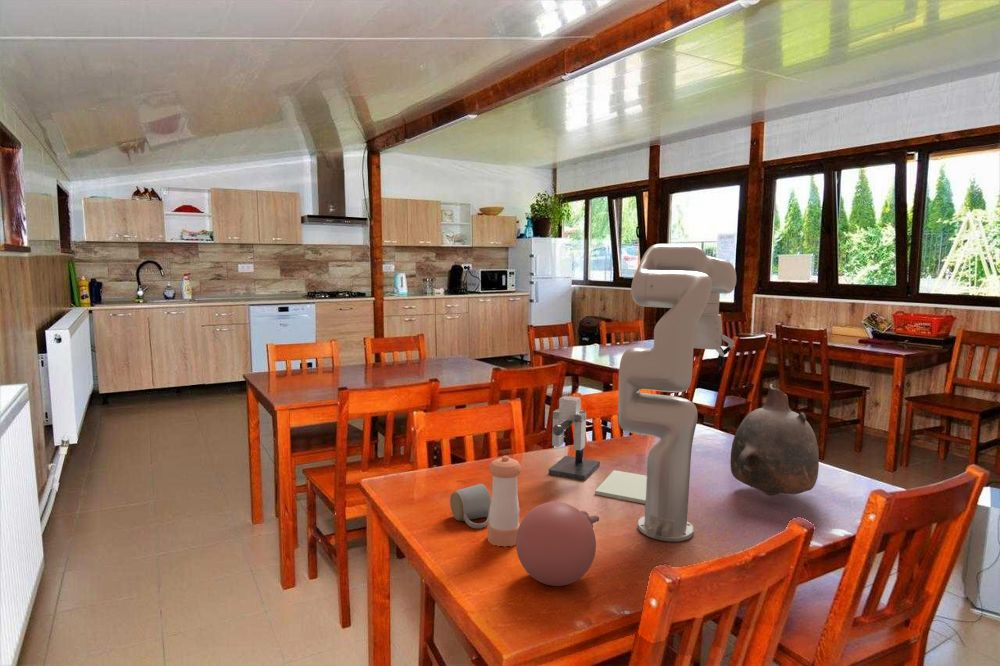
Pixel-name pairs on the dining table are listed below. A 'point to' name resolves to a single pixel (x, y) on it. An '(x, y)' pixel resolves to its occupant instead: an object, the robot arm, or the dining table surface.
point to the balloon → (556, 543)
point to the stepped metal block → (570, 412)
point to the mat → (624, 486)
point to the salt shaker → (504, 502)
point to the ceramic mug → (471, 505)
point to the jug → (775, 449)
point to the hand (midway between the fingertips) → (701, 367)
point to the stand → (572, 460)
